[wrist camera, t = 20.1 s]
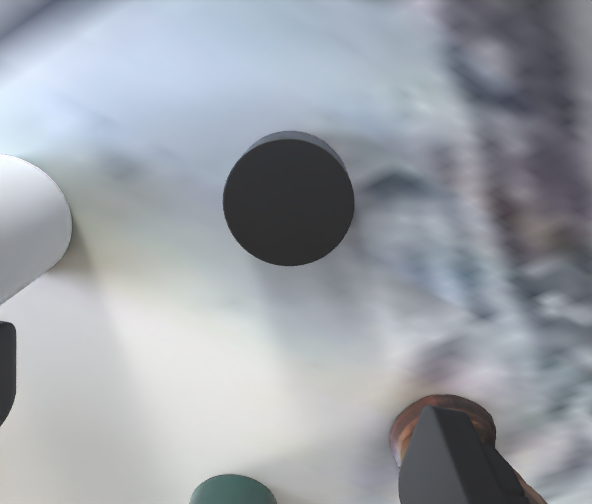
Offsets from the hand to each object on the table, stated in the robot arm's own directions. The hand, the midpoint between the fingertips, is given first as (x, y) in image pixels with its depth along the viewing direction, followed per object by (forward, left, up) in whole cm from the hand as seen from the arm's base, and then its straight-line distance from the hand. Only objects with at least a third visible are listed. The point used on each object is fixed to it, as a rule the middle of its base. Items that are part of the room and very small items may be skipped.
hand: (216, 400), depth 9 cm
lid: (+1, -1, -20) cm, 20 cm away
